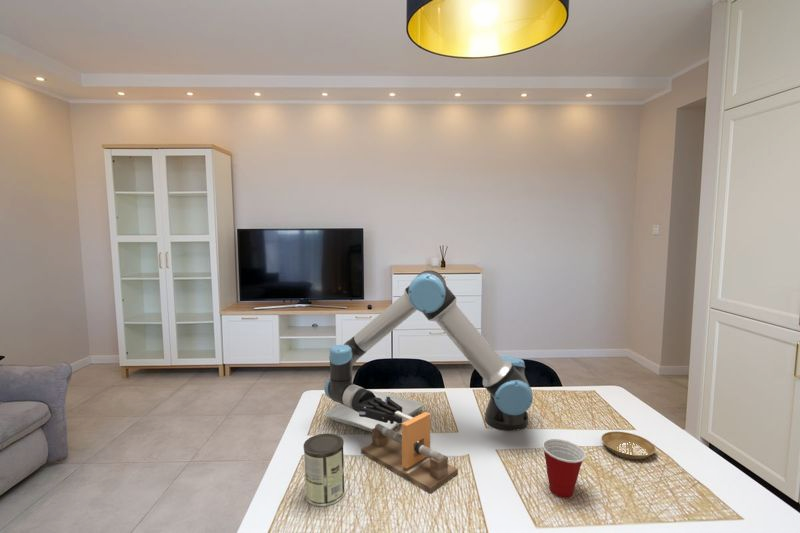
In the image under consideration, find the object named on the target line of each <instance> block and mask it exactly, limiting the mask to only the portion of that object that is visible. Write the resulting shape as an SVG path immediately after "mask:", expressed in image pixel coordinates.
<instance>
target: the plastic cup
mask: <svg viewBox="0 0 800 533" xmlns="http://www.w3.org/2000/svg"><path fill="white" fill-rule="evenodd" d="M541 446H542V449H543V453H544V460H545V467H546V473H547V474H546V475H547V478H548V485H549V490H550V492H551V493H552V494H553V495H554V496H557V497H558V498H564V499H565V498H567V499H568V498H570V497H572V496H573V495H574V493H575V488H576V484H577V483H578V482H577V481H578V478H579V474H580V470H581V466H582V464H583V462H584V460H585V459H586V458H587V453H586V452H585V450H584V449H583V448H582V447H581V446H580V445H578V444H576V443H573V442H571V441H569V440H565V439H561V438H548V439H545V440H544V441H543V442H542V445H541Z"/></svg>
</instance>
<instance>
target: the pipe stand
mask: <svg viewBox="0 0 800 533" xmlns="http://www.w3.org/2000/svg"><path fill="white" fill-rule="evenodd" d="M360 450H361V452H360V453H361V454H362V456H364V457H367V458H368V459H370V460H372V461H374V462H375V463H378V464H379V465H381V466H382V467H384V468H386V469H387V470H390V471H391V472H393V473H394V474H396V475H399V477H401V478H403V479H404V480H407V481H408V482H410V483H411V484H413V485H415V486H416V487H419V488H420V489H421V490H423V491H425V492H427V493H429V494H432V493H433V492H435V491H436V490H437V489H440V488H441V486H444V484H446V483H447V482H448V481H450V480H451V479H453V478H454V477H456V476H457V475H458V474H459V468H458V467H455V466H453V465H451V464H449V457H448V456H446V455H445V454H442V453H440V452H438V451H436V450H434V449H432V448H431V447H430V448H428V447H426V446H425V445H424V444H422V443H420V442H419V441H418V442H416V443H414V452H416V453H417V454H419V455H421V454H422V455H424V456H426V457H425V458H424V459H422V460H420V461H419V462H417V463H415V464H414V465H412V466H410V467H409V468H405V467H403V466H402V433H399V432H397V431H395V430H394V429H392V430H391V429H389V428H387V427H385V426H383V425H380V424H377V425H376V426H375V428H373V429H372V432H371V443H370V444H368V445H366V446H364V447H362V448H360Z"/></svg>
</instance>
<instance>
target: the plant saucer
mask: <svg viewBox="0 0 800 533" xmlns="http://www.w3.org/2000/svg"><path fill="white" fill-rule="evenodd" d="M601 441H602V444H604V446H605V447H606V448H607V449H608V450H609V451H610V452H611V453H613V454H614V453H615V455H616V456H618V455H619V457H620V458H621V457H622V458H624V459H627V458H628V460H634V459H637V460H638V459H640V460H643V459H644V460H645V459H646V458H647V459H648V457H649V458H650V457H651V456H652V455H653V454H654V453H655V451H656V447H655V445H654V444H653V443H652V442H651V441H649V440H648V439H646V438H644V437H642V436H640V435H637V434H635V433H630V432H625V431H616V430H615V431H608V432H605V433H603V434H602V435H601ZM629 442H630V443H629ZM623 443H626V449H627V446H628V448H629V454H626V453H627V450H626V453H622V451H621V452H619V445H620V444H621V447H622V444H623ZM627 443H628V445H627ZM633 443H634V444H635V446H636V444H637V445H639V446H640V447H643V448H644V449H646V450H647V452H648V455H643V453H642V455H633V453H634V452H633V448H632V445H633ZM630 444H631V445H630ZM617 447H618V451H617ZM633 447H634V445H633ZM630 449H631V452H632V455H630ZM637 460H636V461H637Z"/></svg>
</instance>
